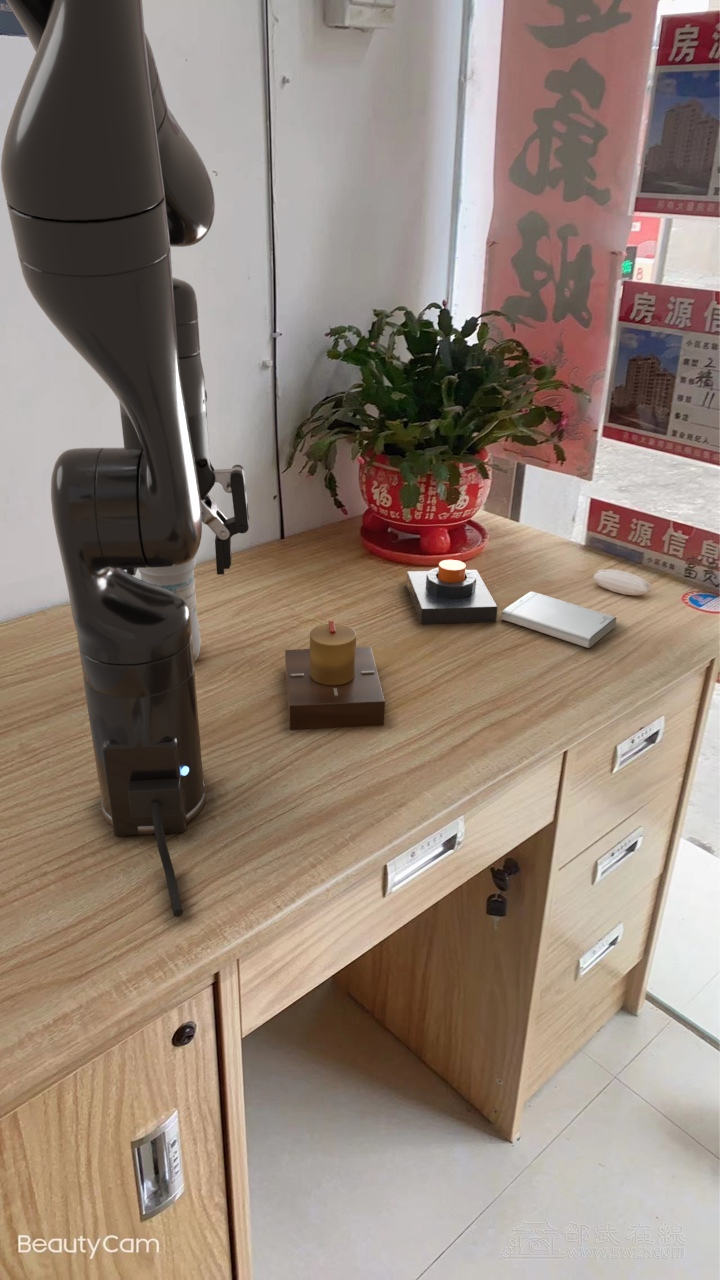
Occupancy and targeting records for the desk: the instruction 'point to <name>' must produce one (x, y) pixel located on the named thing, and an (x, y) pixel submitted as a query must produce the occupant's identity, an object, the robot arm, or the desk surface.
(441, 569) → the orange push button
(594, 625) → the hard drive
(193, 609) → the bottle
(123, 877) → the desk surface
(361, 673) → the dial panel
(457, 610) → the push button base
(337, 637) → the dial
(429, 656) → the desk surface
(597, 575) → the white oval capsule
